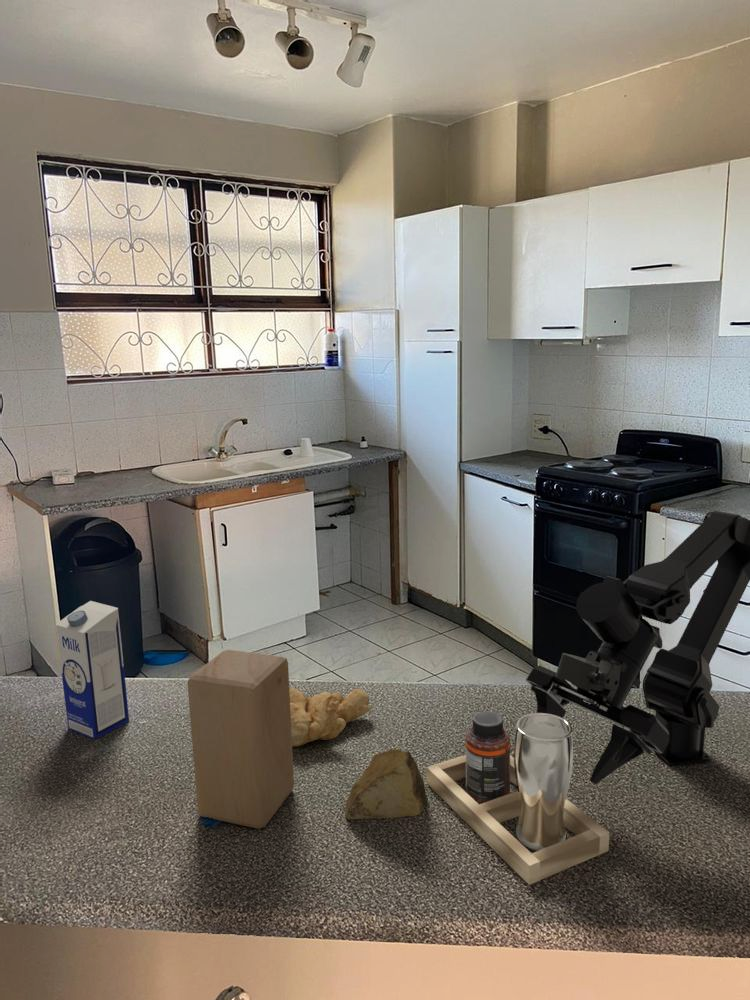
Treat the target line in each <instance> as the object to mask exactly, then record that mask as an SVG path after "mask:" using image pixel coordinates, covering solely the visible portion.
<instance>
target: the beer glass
mask: <svg viewBox="0 0 750 1000" xmlns="http://www.w3.org/2000/svg"><path fill="white" fill-rule="evenodd" d="M515 730H516V731H515V737H514V749H513V757H514V768H515V777H516V783H517V786H516V787H517V791H518V794H519V801H520V813H519V816H518V817H517V818H518V819H517V824H516V827H515V828H516V829H515V835H516V839H517V840H518V841H519V842H520V843H521V844H522V845H523V846H524V847H525V848H526V847H527V848H529V849H531V850H533V851H535V852H537V851H539V850H542V849H544V848H547V847H549V846H552V845H554V844H556V843H559V842H561V841H564V840H566V839H567V834H566V827H565V826H564V819H563V813H564V806H565V801H566V799H567V797H568V792H569V789H570V783H571V780H572V779H571V778H572V775H573V774H572V773H573V761H574V760H573V759H574V756H573V755H574V747H573V746H574V745H573V727H572V725H571V724H570V722H569V721H568V720H566V718H565V719H564V718H561V717H559V716H556V715H552V714H547V713H537V712H534V713H528V714H525V715H522V716H521V717H519V718H518V720H517V721H516V729H515Z"/></svg>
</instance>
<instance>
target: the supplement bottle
mask: <svg viewBox="0 0 750 1000" xmlns="http://www.w3.org/2000/svg"><path fill="white" fill-rule="evenodd" d="M465 755H466V778H465V789H466V791H465V792H466V793H467V794H468V795H469V796H471V797H472V798H473V799H474V800H475V801H476V802H477V803H478V804H482V803H485V802H488V801H491V800H493V799H496V798H499V797H502V796H505V795H507V794H510V792H511V790H510V788H511V781H510V755H511V737H510V734H509V732H508V731H507V730H506V729H505V728H504V720H503V717H502V715H501V714H499V713H497V712H494V711H491V710H490V711H489V710H485V711H484V710H483V711H479V712H477V713H475V714H474V715H473V717H472V727H470V728H469V729H468V730H467V732H466V735H465Z"/></svg>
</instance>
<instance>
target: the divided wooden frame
mask: <svg viewBox="0 0 750 1000" xmlns="http://www.w3.org/2000/svg"><path fill="white" fill-rule="evenodd" d="M463 779H466V754H464V755H460V756H458V757H457V756H456V757H454V758H451V759H448V760H445V761H441V762H438V763H436V764H432V765H429V766H427V767H426V785H428V786H429V787H430V788H431V789H432V790H433V791H434V792H435V793H436V794H437V795H438V796H439V797H440V798H441V799H442V800H443V801H444V802H445V803H446V804H447V805H448V806H449V807H450V808H451V809H452V810H453V811H454V812H455V813H456V814H457V815H458V816H459V817H460V818H461V819H462V820H463V821H464V822H465V824H467V825H468V826H469V827H470V828H471V829H472V830H473V831H474V832H475V833H476V834H477V835H478V836H479V837H480V838H481V839H482V840H483V841H484V842H485V843H487V844H488V846H489V847H491V849H492V850H493V851H494V852H495V853H496V854H497V855H498V856H499V857H501V859H502V860H503V861H504V862H505V863H506V864H507V865H508V866H510V868H512V870H514V872H515V873H516V874H517V875H518V876H520V877H521V879H522V880H523V881H524V882H525V883H526V884H528V886H530V885H533V884H535V883H538V882H540V881H542V880H544V879H546V878H548V877H551V876H553V875H556V874H558V873H560V872H563V871H565V870H568V869H570V868H572V867H574V866H577V865H579V864H581V863H583V862H586V861H588V860H590V859H591V860H592V859H593V858H595V857H598V856H600V855H601V854H605V853H607V852H608V851H609V847H610V832H609V830H607V829H606V828H604V827H603V826H602V825H601V824H599V823H598V822H597V821H595V820H594V819H593V818H592V817H590V815H588V814H586V813H585V812H584V811H583V810H581V809H580V808H579V807H577V805H575V804H574V803H572V802H571V801H570V800H569V799H567V798H566V801H565V806H564V813H563V819H564V826H565V829H567V830H569V831H570V832H571V833H572V834H573V836H571V837H569V838H566V840H564V841H561V842H559V843H556V844H554V845H552V846H549V847H547V848H544V849H542V850H539V851H535V852H531V851H530V850H528V849H527V848H526V846H525V845H523V844H522V843H521V842H520V841H519V840H518V838H517V837H515V836H513V834H511V832H510V831H508V830H507V829H506V828H505V827H504V826H503V825H502V823H505V822H507V821H510V820H513V819H515V818H519V813H520V801H519V794H518V790H516V791H514V792H513V791H512V792H511V793H510V792H509V794H507V795H505V796H502V797H499V798H496V799H493V800H491V801H488V802H485V803H482V804H481V803H478V802H476V801H475V800H474V799H473V798H472V797H471V796H469V795H468V794H467V791H465V790H464V788H462V787H461V786H460V785H459V784H458V783H456V782H457V781H460V780H463ZM510 783H512V784H513V785H515V786H516V787H517V783H516V777H515V768H514V756H512V755H511V754H510Z"/></svg>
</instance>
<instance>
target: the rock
mask: <svg viewBox="0 0 750 1000" xmlns="http://www.w3.org/2000/svg"><path fill="white" fill-rule="evenodd" d="M425 787H426V786H425V782H424V778H423V777H422V775H421V772H420V769H419V767H418V764H417V762H416V761H415V758H414V757H413V756H412V755H411V752H410V751H408V750H406V751H403V750H402V749H397V748H396V749H395V748H393V749H389V750H387V751H386V750H385V751H383V752H381V753H376V754H374V755H373V756H372V759H371V760H370V763H369V765H368V766H367V768H365V770H364V771H363V773H362V774H361V775H360V778H359V779H358V780H357V781H355V782H354V783H353V785H352V787H351V789H350V793H349V795H348V797H347V799H346V801H345V807H344V809H345V818H346V820H358V819H359V820H362V819H366V820H368V819H369V820H370V819H377V818H378V819H381V818H382V819H383V818H384V819H392V818H397V819H398V818H402V817H416V816H419V815H420V814H421V813H422V812H423V810H424V809H425V807H426V806H427V800H428V795H427V793H426V788H425Z"/></svg>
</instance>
